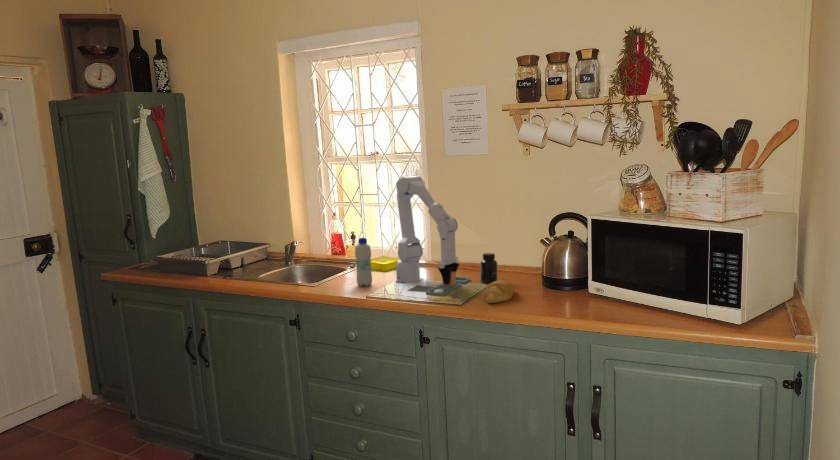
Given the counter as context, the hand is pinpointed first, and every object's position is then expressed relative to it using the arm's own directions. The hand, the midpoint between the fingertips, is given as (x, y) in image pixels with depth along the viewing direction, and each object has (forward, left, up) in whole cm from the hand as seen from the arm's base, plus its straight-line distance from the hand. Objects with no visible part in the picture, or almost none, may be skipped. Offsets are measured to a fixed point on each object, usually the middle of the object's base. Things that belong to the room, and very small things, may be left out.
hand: (449, 282), depth 227 cm
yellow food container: (-46, +28, -3) cm, 54 cm away
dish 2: (0, 0, -2) cm, 2 cm away
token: (0, -10, -2) cm, 10 cm away
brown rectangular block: (0, 0, -2) cm, 2 cm away
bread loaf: (+24, -8, -2) cm, 25 cm away
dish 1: (0, -10, -2) cm, 10 cm away
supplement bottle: (+12, +13, -2) cm, 18 cm away
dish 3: (0, +10, -2) cm, 10 cm away
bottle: (-35, -7, -2) cm, 36 cm away
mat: (-9, -6, -2) cm, 11 cm away
